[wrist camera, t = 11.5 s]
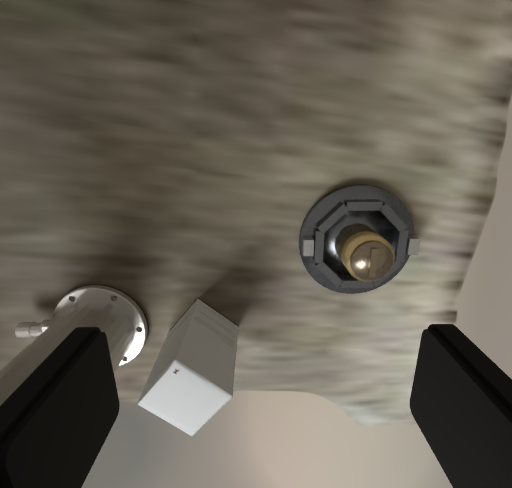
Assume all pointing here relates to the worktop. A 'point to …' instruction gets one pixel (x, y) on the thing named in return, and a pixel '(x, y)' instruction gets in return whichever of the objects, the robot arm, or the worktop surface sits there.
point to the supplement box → (193, 369)
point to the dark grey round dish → (346, 213)
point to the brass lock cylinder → (364, 252)
